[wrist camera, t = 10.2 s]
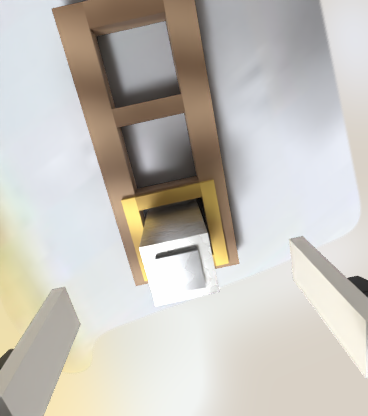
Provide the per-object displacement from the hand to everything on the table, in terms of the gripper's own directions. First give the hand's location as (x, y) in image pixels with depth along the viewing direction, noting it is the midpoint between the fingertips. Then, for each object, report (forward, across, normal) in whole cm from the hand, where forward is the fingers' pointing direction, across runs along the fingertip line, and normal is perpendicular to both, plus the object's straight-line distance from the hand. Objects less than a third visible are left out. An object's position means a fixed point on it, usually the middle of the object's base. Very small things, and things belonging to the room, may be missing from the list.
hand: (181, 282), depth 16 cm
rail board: (+11, 0, +6) cm, 13 cm away
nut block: (+11, 0, -1) cm, 11 cm away
